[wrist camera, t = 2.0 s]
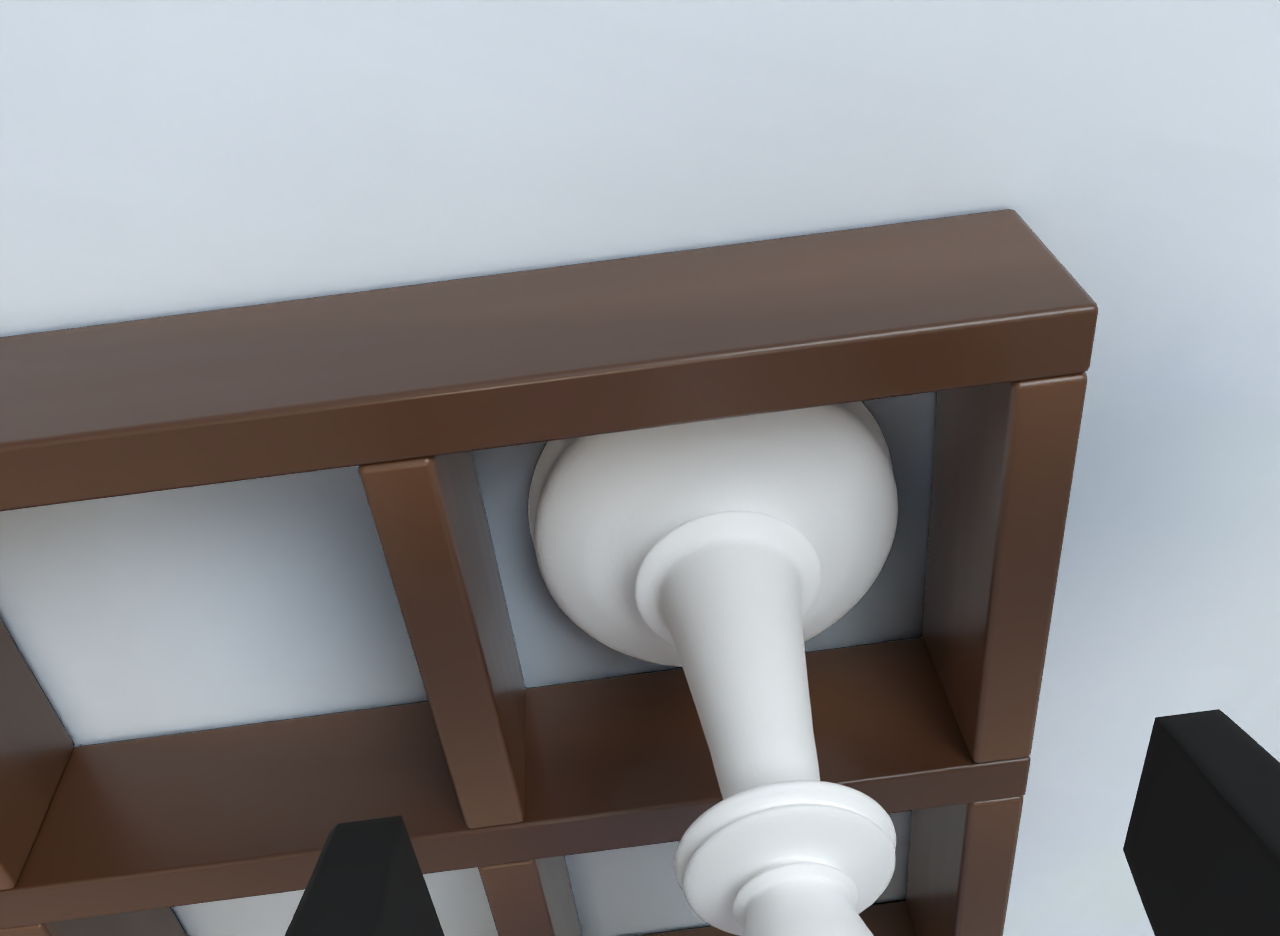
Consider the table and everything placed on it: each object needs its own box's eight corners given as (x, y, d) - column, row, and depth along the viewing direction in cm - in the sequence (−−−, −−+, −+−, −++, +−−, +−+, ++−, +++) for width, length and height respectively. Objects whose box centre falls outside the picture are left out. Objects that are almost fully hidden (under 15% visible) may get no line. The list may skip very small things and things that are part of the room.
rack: (944, 918, 22) (987, 1049, 20) (191, 1016, 22) (155, 1158, 20) (1014, 205, 13) (1102, 305, 11) (-221, 363, 13) (-356, 491, 11)
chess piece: (464, 564, 16) (392, 1539, 8) (652, 279, 13) (840, 1238, 5) (756, 678, 17) (952, 1570, 9) (965, 443, 15) (1467, 1353, 7)
